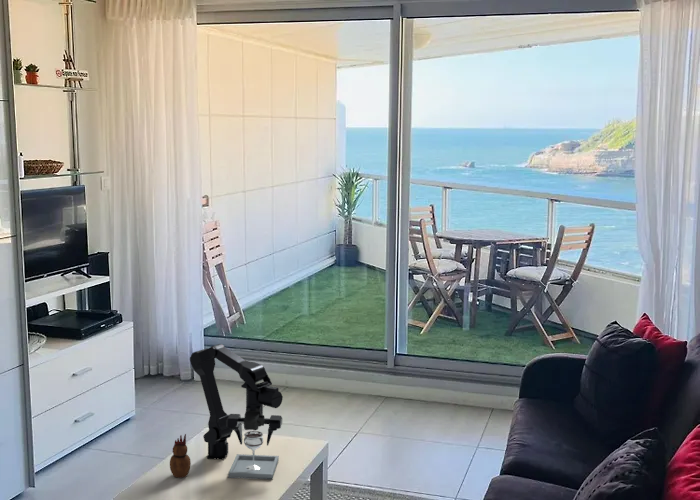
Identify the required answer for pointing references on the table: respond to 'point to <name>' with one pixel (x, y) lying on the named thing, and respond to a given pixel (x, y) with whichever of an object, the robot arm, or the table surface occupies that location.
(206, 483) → the table surface
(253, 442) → the wineglass
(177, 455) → the wooden figurine
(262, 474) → the serving tray
